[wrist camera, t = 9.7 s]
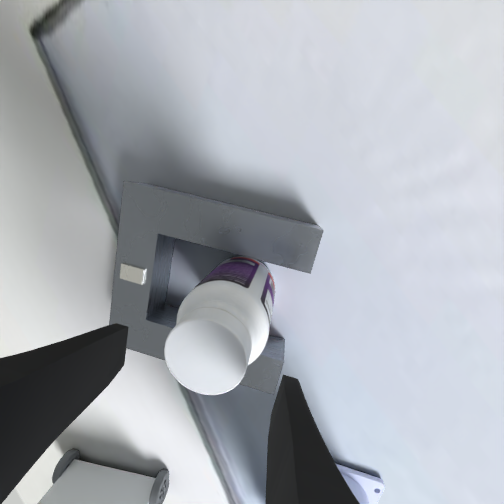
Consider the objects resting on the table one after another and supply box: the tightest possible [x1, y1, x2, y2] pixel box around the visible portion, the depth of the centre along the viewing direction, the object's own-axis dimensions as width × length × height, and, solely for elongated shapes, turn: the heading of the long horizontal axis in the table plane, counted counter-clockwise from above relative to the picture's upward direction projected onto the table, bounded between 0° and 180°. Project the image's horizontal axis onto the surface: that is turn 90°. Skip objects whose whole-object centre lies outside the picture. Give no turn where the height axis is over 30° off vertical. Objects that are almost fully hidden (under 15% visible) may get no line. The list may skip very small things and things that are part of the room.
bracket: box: [109, 181, 323, 395], centre depth 19 cm, size 13×14×3 cm
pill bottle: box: [164, 256, 275, 395], centre depth 16 cm, size 5×5×10 cm
